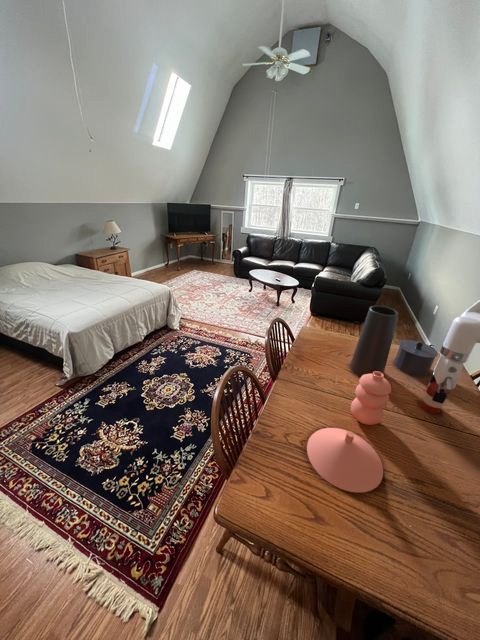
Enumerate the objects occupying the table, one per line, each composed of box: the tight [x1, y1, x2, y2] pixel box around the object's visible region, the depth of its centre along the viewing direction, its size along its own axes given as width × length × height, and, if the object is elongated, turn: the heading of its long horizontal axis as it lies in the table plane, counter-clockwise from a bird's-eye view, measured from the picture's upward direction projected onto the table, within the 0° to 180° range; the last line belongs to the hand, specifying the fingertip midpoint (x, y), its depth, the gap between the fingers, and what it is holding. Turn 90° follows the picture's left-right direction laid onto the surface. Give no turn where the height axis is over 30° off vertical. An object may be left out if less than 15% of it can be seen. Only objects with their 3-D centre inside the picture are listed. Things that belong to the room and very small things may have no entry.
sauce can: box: [420, 382, 450, 414], centre depth 97 cm, size 6×6×9 cm
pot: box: [393, 346, 436, 377], centre depth 120 cm, size 14×14×10 cm
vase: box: [349, 305, 400, 378], centre depth 112 cm, size 14×14×29 cm
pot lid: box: [398, 339, 439, 359], centre depth 118 cm, size 15×15×4 cm
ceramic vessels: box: [306, 371, 392, 494], centre depth 79 cm, size 35×21×19 cm, turn 140°
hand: (435, 393), depth 96 cm, fingers open, 9 cm apart
